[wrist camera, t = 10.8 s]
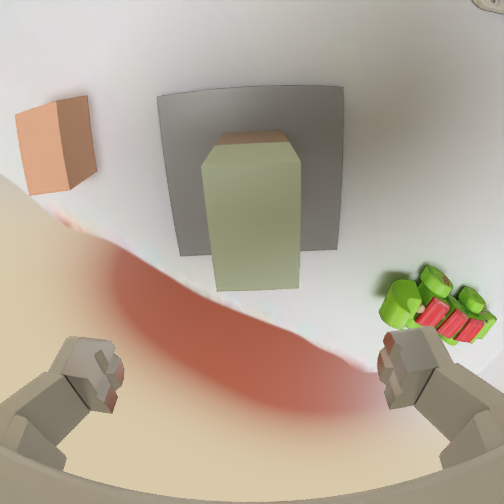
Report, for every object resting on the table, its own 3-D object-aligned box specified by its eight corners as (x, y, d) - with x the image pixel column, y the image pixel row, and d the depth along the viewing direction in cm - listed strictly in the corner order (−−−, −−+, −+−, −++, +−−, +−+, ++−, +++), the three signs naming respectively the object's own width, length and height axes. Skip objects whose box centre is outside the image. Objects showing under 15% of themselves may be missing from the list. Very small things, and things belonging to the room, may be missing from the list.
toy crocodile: (492, 298, 32) (514, 328, 27) (463, 334, 35) (481, 365, 30) (396, 246, 28) (421, 282, 23) (360, 297, 32) (377, 337, 26)
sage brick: (289, 142, 18) (300, 161, 14) (290, 244, 21) (298, 288, 17) (214, 145, 18) (201, 166, 14) (224, 247, 22) (216, 291, 17)
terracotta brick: (87, 95, 21) (56, 101, 17) (97, 171, 25) (70, 190, 21) (48, 106, 21) (14, 114, 17) (59, 176, 25) (29, 195, 21)
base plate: (339, 86, 21) (365, 88, 16) (334, 244, 28) (351, 282, 23) (160, 96, 22) (133, 100, 17) (182, 250, 29) (167, 289, 24)
